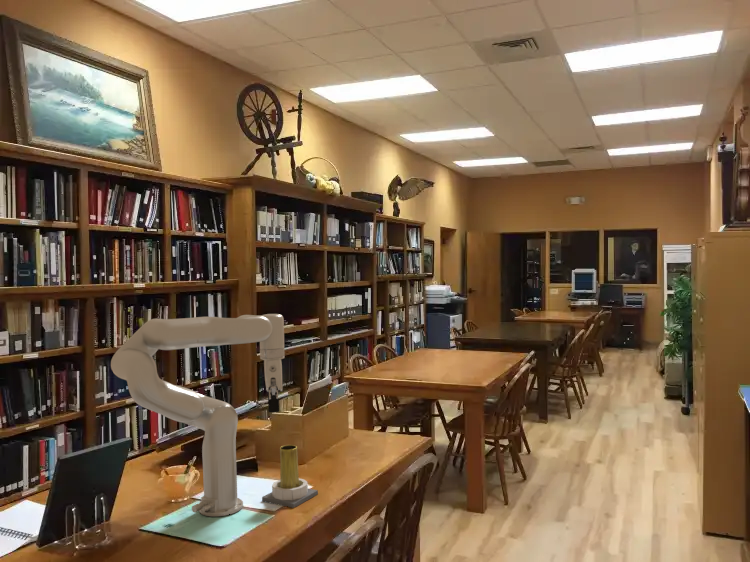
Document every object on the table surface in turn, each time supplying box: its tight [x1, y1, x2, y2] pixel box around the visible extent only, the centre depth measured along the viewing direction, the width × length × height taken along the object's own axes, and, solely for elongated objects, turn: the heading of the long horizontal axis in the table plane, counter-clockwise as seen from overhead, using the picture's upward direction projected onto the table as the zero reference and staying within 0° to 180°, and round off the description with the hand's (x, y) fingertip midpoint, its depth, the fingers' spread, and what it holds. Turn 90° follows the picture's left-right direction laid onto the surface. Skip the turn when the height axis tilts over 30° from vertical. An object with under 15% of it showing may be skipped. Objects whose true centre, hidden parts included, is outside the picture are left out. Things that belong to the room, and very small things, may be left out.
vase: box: [279, 444, 300, 489], centre depth 189 cm, size 6×6×14 cm
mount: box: [261, 477, 319, 509], centre depth 190 cm, size 12×12×4 cm
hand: (273, 408), depth 194 cm, fingers open, 9 cm apart
